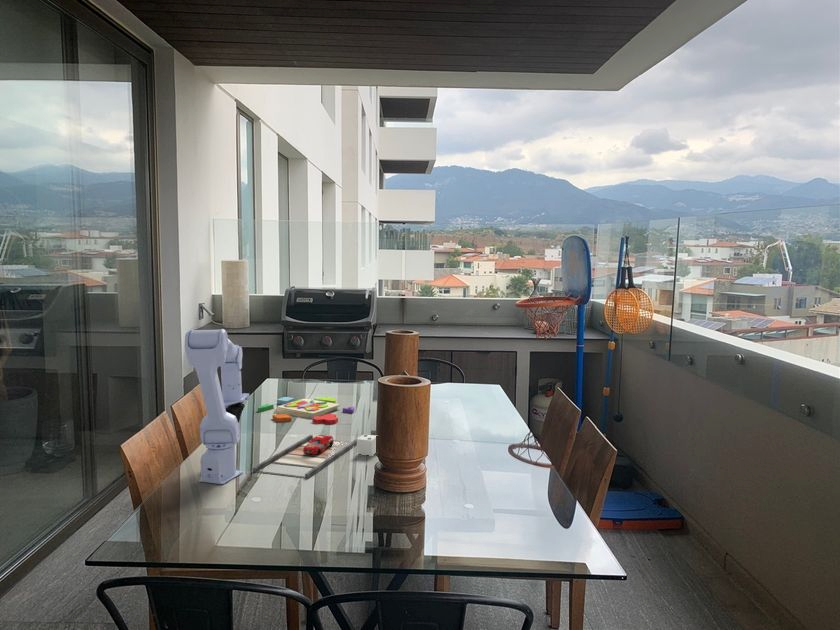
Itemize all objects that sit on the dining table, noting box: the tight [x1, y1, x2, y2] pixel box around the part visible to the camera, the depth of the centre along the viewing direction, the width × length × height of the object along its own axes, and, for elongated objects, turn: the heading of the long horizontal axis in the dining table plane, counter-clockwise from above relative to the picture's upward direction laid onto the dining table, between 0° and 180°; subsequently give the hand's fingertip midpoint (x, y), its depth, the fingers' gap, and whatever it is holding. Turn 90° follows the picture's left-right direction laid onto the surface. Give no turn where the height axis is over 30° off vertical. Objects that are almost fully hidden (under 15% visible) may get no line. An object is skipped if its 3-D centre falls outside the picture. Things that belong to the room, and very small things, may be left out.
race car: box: [303, 434, 334, 455], centre depth 197 cm, size 13×5×4 cm, turn 159°
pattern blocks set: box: [257, 396, 355, 425], centre depth 245 cm, size 38×34×3 cm
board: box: [252, 434, 358, 480], centre depth 191 cm, size 33×18×1 cm, turn 161°
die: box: [356, 434, 377, 457], centre depth 193 cm, size 5×5×5 cm
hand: (233, 428), depth 189 cm, fingers closed
